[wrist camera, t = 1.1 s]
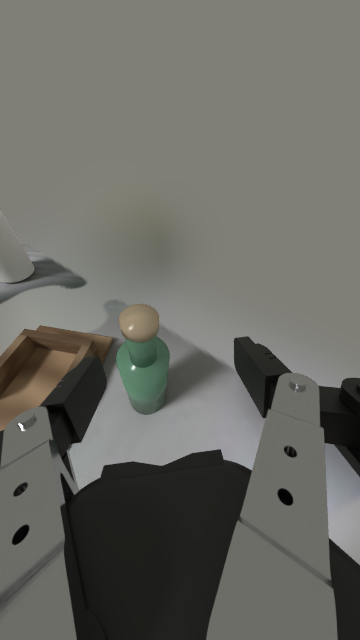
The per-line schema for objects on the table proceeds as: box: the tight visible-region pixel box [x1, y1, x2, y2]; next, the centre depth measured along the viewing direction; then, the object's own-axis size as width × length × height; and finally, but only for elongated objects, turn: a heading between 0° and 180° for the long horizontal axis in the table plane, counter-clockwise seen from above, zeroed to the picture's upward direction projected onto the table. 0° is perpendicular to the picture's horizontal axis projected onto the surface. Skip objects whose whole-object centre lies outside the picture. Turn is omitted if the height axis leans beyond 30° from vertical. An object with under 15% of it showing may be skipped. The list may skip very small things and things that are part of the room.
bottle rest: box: [0, 326, 113, 431], centre depth 28 cm, size 18×14×4 cm
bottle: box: [116, 304, 170, 415], centre depth 22 cm, size 6×6×19 cm
